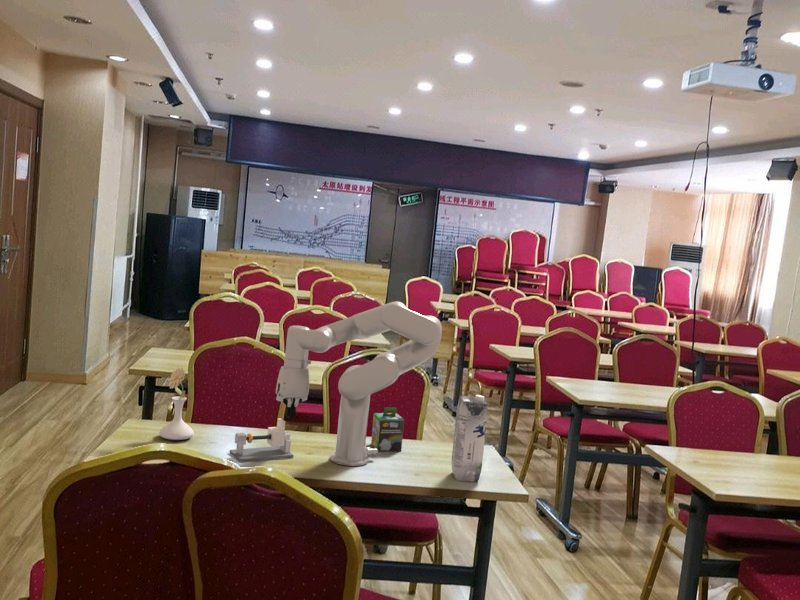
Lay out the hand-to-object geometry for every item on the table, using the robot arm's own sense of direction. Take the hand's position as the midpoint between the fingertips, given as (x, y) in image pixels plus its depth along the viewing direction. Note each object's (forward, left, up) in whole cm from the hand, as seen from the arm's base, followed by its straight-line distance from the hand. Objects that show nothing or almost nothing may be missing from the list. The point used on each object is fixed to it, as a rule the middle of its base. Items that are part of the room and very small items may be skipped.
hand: (289, 417), depth 242 cm
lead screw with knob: (+8, 0, -7) cm, 11 cm away
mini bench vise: (+9, 0, -12) cm, 15 cm away
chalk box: (-37, +2, -12) cm, 39 cm away
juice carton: (-46, +37, -12) cm, 60 cm away
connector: (+17, 0, -11) cm, 20 cm away
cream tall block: (+5, 0, -8) cm, 10 cm away
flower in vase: (+30, -24, -12) cm, 40 cm away
